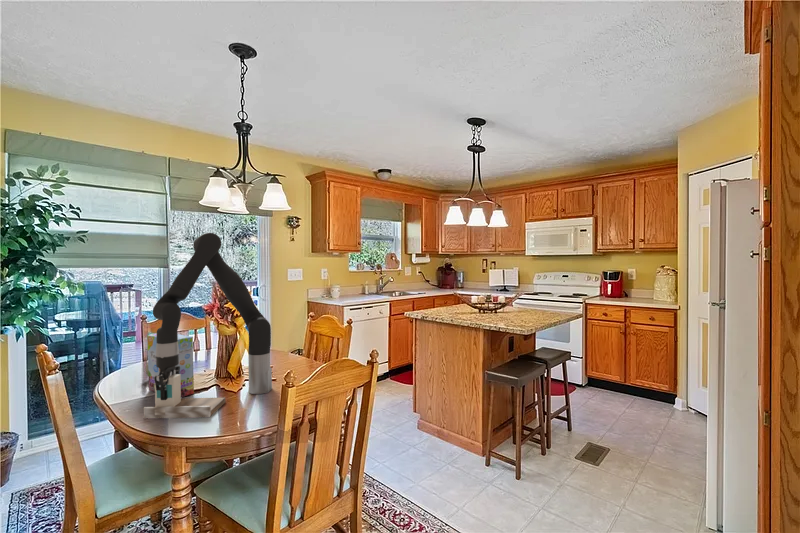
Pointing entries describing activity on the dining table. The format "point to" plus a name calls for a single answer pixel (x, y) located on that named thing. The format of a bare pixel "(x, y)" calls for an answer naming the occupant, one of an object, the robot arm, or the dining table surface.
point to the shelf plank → (186, 408)
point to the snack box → (184, 362)
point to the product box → (170, 392)
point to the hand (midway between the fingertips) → (168, 396)
